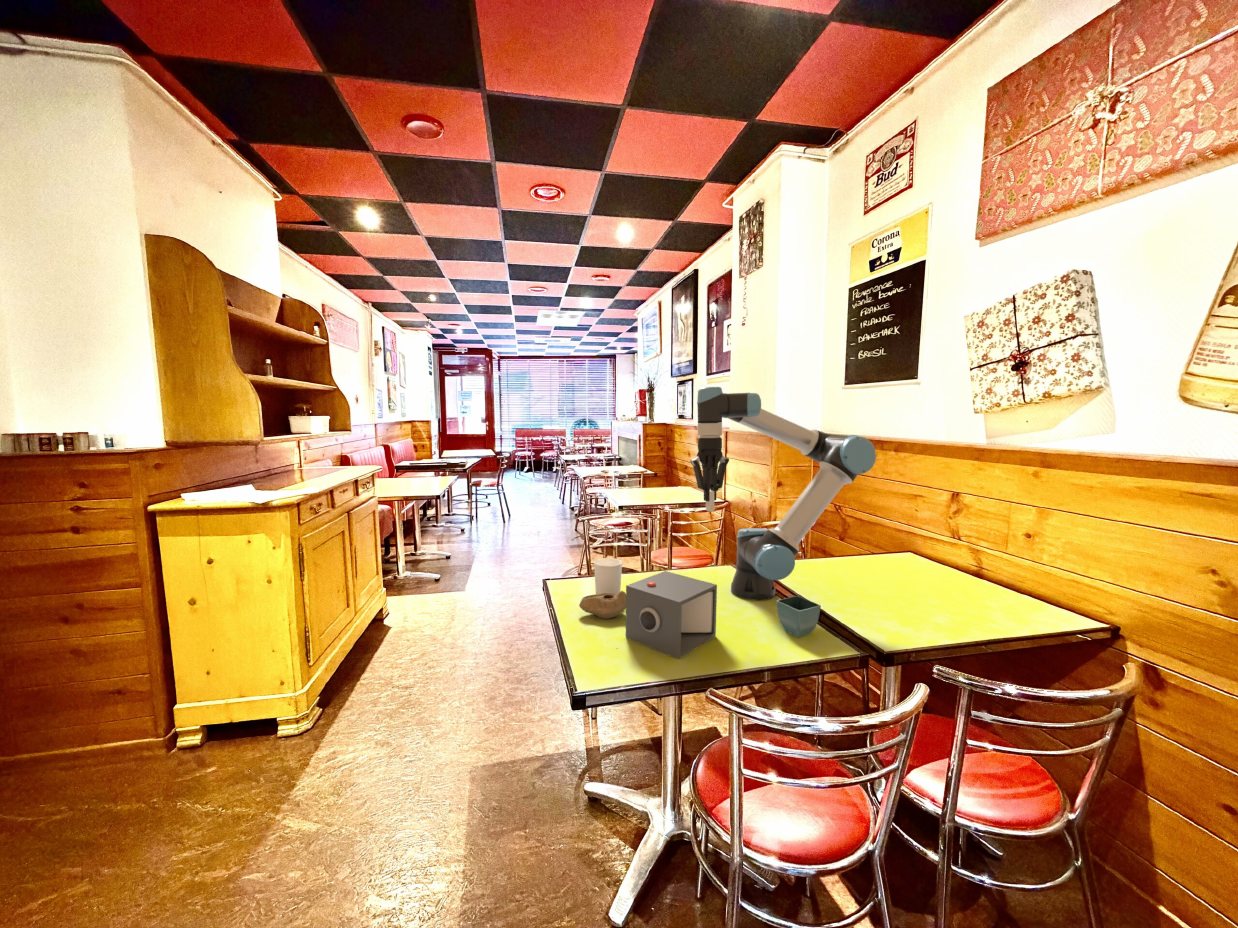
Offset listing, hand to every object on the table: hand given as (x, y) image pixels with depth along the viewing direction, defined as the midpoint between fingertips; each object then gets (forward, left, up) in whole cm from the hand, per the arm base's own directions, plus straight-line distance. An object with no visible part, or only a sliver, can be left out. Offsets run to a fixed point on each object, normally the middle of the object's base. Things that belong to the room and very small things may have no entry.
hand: (710, 510), depth 153 cm
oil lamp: (+34, -4, -32) cm, 47 cm away
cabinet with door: (+20, +16, -32) cm, 41 cm away
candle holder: (+28, -20, -32) cm, 47 cm away
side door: (+16, +17, -30) cm, 39 cm away
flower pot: (-16, +24, -32) cm, 43 cm away
